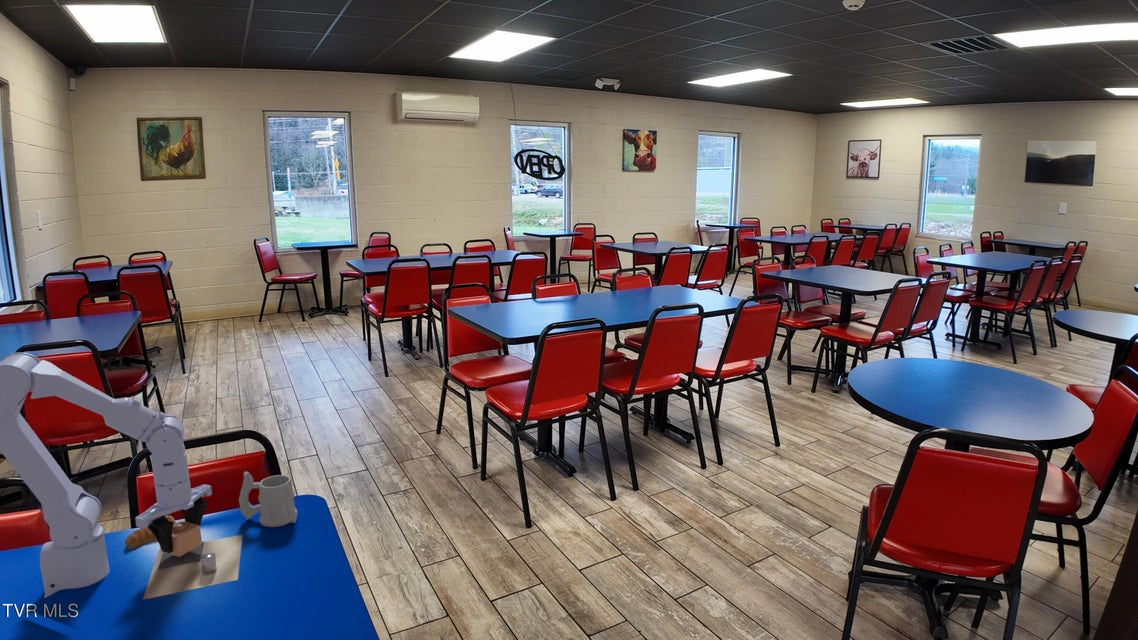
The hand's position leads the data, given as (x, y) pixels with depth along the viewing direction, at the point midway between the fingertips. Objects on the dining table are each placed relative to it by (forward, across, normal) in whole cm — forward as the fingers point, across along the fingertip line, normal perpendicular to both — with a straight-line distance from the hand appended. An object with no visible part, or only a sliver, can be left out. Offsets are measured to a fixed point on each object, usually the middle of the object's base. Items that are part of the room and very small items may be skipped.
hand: (180, 544), depth 129 cm
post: (+3, -2, -10) cm, 10 cm away
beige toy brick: (+1, 0, 0) cm, 1 cm away
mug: (+4, +17, -5) cm, 18 cm away
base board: (+3, -1, -5) cm, 6 cm away
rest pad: (+3, 0, 0) cm, 3 cm away
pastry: (+4, +4, +13) cm, 14 cm away
